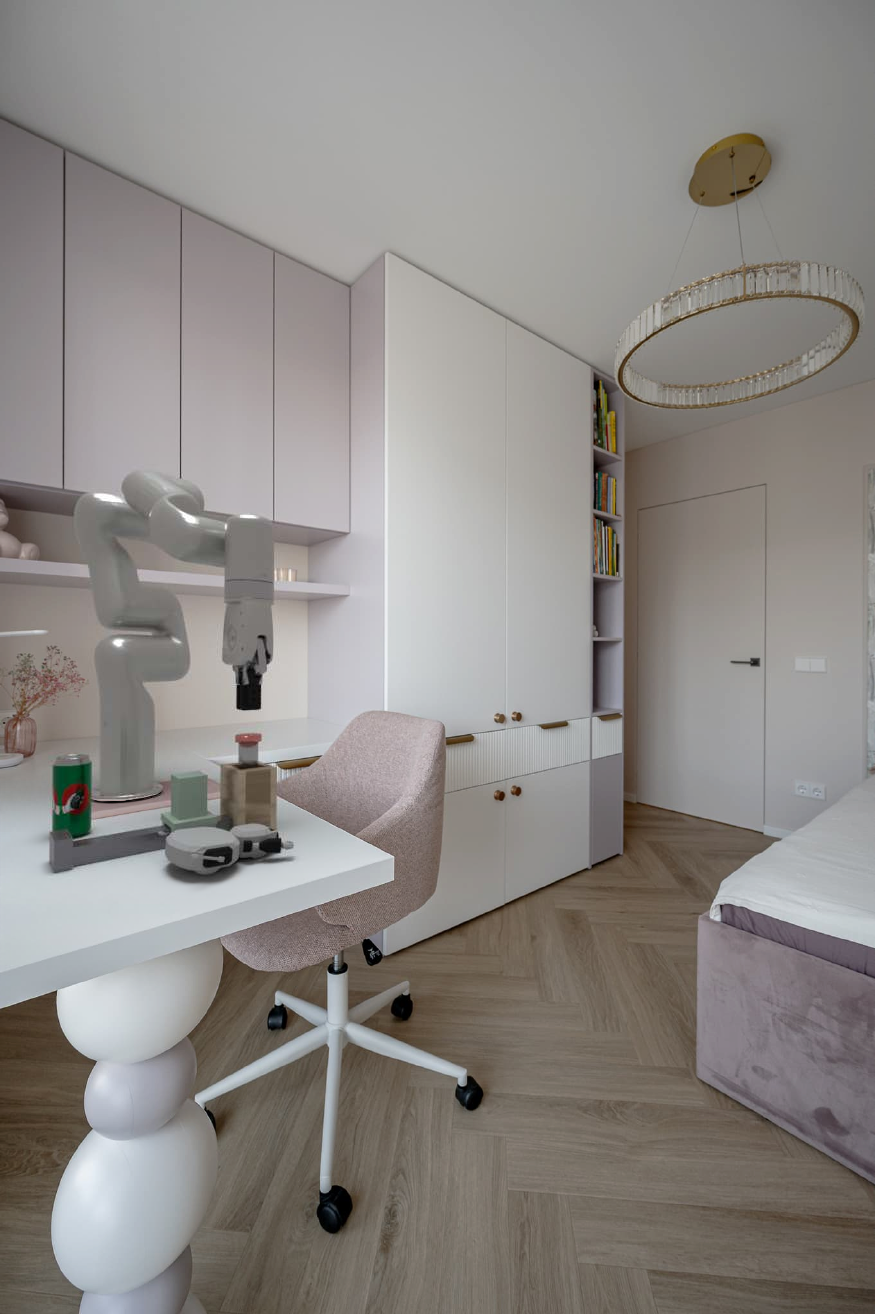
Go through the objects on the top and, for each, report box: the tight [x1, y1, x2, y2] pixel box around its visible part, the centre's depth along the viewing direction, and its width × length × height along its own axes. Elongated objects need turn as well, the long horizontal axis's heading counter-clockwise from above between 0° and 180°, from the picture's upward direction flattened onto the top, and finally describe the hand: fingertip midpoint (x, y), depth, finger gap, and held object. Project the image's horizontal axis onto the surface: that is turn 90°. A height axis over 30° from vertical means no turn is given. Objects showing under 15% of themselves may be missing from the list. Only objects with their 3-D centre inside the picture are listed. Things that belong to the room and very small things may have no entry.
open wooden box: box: [219, 760, 278, 830], centre depth 90 cm, size 8×6×10 cm
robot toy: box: [158, 823, 295, 876], centre depth 76 cm, size 12×4×15 cm
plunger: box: [234, 732, 263, 770], centre depth 90 cm, size 4×4×6 cm
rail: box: [48, 814, 233, 874], centre depth 81 cm, size 5×24×4 cm, turn 130°
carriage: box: [160, 770, 219, 833], centre depth 84 cm, size 7×6×10 cm
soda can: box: [51, 753, 93, 839], centre depth 86 cm, size 5×5×12 cm
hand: (248, 709), depth 90 cm, fingers closed
